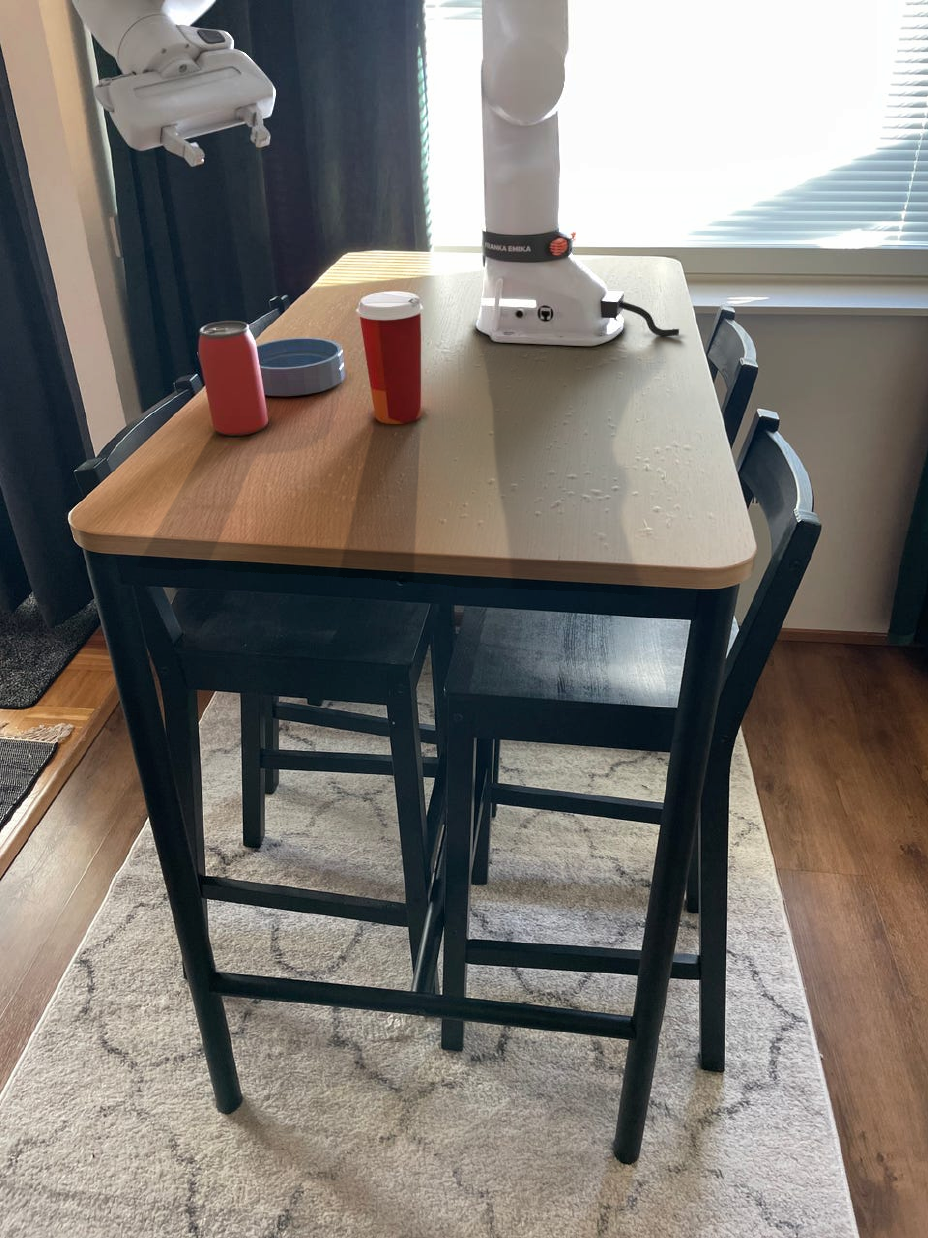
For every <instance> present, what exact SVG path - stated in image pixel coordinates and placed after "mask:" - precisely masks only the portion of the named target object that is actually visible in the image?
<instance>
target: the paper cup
mask: <svg viewBox="0 0 928 1238" xmlns="http://www.w3.org/2000/svg"><path fill="white" fill-rule="evenodd" d="M420 301H421V300H420V298H419V296H418V295H417V294H415V293H413V292H408V291H399V290H398V291H396V290H395V291H392V290H391V291H379V292H375V293H371V294H368V295H365V296H363V297H361V299H359V302H358V308H356V310H355V313H356V315H357V316H358V317H359V320H360V327H361V334H362V341H363V347H364V353H365V361H366V366H367V373H368V381H369V387H370V392H371V400H372V405H373V410H374V416H375V419H376V420H377V421H378V422H380V423H382V424H387V425H402V424H409V423H412V422H415V421H417V420H418V419H419V418H420V417H421V413H422V312H423V311H424V307H423V304H421V302H420Z"/></svg>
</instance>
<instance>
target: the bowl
mask: <svg viewBox="0 0 928 1238" xmlns="http://www.w3.org/2000/svg"><path fill="white" fill-rule="evenodd" d="M256 347H257V353H258V359H259V366H260V372H261V378H262V385H263V391H264V396H270V397H294V396H304V395H310V394H316V393H320V392H323V391H326V390H329V389H332V388H334V387H336V386H337V385H339V384H341V383H342V382H343V381H344V380H345V378H346V373H345V371H346V370H345V363H344V362H345V361H344V352H343V348H342V345H341V344H339V343H338V342H336V341H333V340H330V339H326V338H319V337H290V338H289V337H288V338H281V339H276V340H269V341H266V342H263V343H259V344H256Z"/></svg>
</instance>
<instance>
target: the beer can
mask: <svg viewBox="0 0 928 1238" xmlns="http://www.w3.org/2000/svg"><path fill="white" fill-rule="evenodd" d="M198 333H199V339H198V355H199V356H198V357H199V362H200V366H201V372H202V377H203V381H204V382H203V383H204V386H205V391H206V397H207V402H208V403H207V404H208V407H209V413H210V417H211V423H212V427H213V429H214V430H215V431H216V432H217V433H218V434H222V435H224V436H229V437H242V436H247V435H248V436H249V435H252V434H255V433H258V432H260V431H261V430H262V429H264V428H265V427H266V425H267V424H268V423H269V417H268V410H267V403H266V399H265V398H266V397H265V395H264V391H263V385H262V378H261V372H260V366H259V359H258V353H257V347H256V345H257V343H256V339H255V337H254V336H253V334H252V332H251V330H250V326H249V324H248V323H246V322H244V321H240V320H239V321H238V320H224V321H218V322H211V323H208V324H205V325H204V326H202V327H201V328H200V329H199V332H198Z"/></svg>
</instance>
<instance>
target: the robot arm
mask: <svg viewBox="0 0 928 1238" xmlns="http://www.w3.org/2000/svg"><path fill="white" fill-rule="evenodd" d="M216 1H217V0H71V2H72V4H73V6H74V8H75V10H76V12H77V14H78V15H79V17H80V19H81V20H82V22H83V23H84V25H85V26H86V28H87V29H88V30H89V32H90V33H91V35H92V37H94V39H95V40H96V42H97V43H99V45H100V47H102V49H103V50H104V51H105V52H106V53H108V54H109V55H110V56H111V57H113V58H114V59H115V62H116V64H117V66H118V68H119V70H120V72H121V73H122V74H119V75H117V76H114V77H105V78H101V79H100V80H98V83H97V84H96V85H95V86H94V88H93V95H94V98H95V99H96V100H97V102H98V103H99V104H100V106H101V107H102V108H103V109H104V110H105V111H107V112H109V116H110V118H111V120H112V121H113V123H114V125H115V127H116V129H117V131H118V132H119V134H120V136H121V137H122V139H123V140H124V142H125V143H126V144H127V145H128V146H129V147H130V148H132V149H134V150H136V151H140V152H143V151H147V150H151V149H154V148H158V147H161V146H163V147H164V148H165V149H166V150H167V151H169V152H171V153H172V154H174V155H177V156H178V157H180V158H184V160H185V161H186V162H187V163H188V165H189V166H190V167H197V166H199V165H202V164H204V159H205V153H204V151H203V149H202V148H200V146H199V144H198V143H197V142H196V141H195V142H191V143H190V142H188V141H187V140H189V139H191V138H197V137H199V136H203V135H207V134H210V133H215V132H219V131H222V130H225V129H229V128H233V127H237V126H241V125H244V124H245V125H247V126H248V127H249V128H251V134H250V140H251V142H252V143H253V144H255V147H256V148H263V147H266V146H269V145H270V141H271V133H270V132H269V130H268V129H267V128H266V127H265V126H264V120H263V119H267V118H271V116H272V113H273V110H274V105H275V100H276V88H275V86H274V84H273V82H272V81H271V80H270V79H269V77H268V76H267V75H266V74H265V73H264V71H262V69H261V68H260V67H259V66H258V65H257V64H256V62H255V61H254V60H253V59H251V57H249V55H247V54H246V53H245V52H243V51H241V50H239V49H236V48H234V39H233V37H232V36H231V35H230V34H229V33H228V32H227V31H225V30H221V29H210V28H200V27H195V26H192V25H194V24H195V23H196V22H197V21H199V19H200V18H201V17H203V16H204V15H205V13H207V12H208V11H209V10H210V9H211V8H212V7H213V5H214V4H215V3H216ZM481 25H482V29H481V30H482V61H481V65H480V91H481V93H480V94H481V121H482V124H481V125H482V127H481V128H482V153H483V155H482V156H483V188H484V189H483V190H484V192H483V193H484V227H483V229H482V230H481V232H482V235H481V236H482V237H481V256H482V266H483V268H484V272H483V273H484V274H483V287H482V296H481V302H480V308H479V313H478V317H477V320H476V324H475V326H476V328H477V329H478V331H480V332H481V333H483V334H485V335H488V336H489V337H490V339H491V341H493V342H496V343H505V344H506V343H507V344H511V343H512V344H532V345H533V344H534V345H549V346H550V345H551V346H552V345H553V346H572V347H573V346H577V347H594V346H598V345H601V344H604V343H607V342H609V341H612V340H613V339H615V338H616V337H617V336H618V335H619V334H620V333H621V332H622V331H623V330H624V318H623V317H622V315H620V314H621V313H622V311H623V310H625V311H628V312H632V313H634V314H637V315H639V316H640V317H642V318H643V319H644V320H645V322H646V325H647V327H648V329H649V331H650V332H651V333H653V334H654V335H656V336H659V337H673V336H677V337H678V336H679V335H680V328H666V329H665V328H664V329H663V328H659V327H658V326H657V325H656V323H655V322H654V319H653V317H652V315H651V314H650V313H649V312H648V311H647V310H645V309H644V308H642V307H640V306H638V305H635V304H633V303H630V302H626V301H624V299H625V298H624V297H625V292H624V291H608V288H607V286H606V284H605V282H604V281H603V280H602V279H600V278H599V277H598V276H597V275H596V274H594V273H593V272H592V271H591V270H590V269H589V268H588V267H587V266H585V265H584V264H583V263H582V262H581V261H580V260H579V259H577V257H575V256H574V255H573V245H574V244H573V242H575V241H576V240H577V238H575V237H576V234H577V232H575V231H574V232H571V233H569V232H568V231H567V230H566V229H565V228H564V227H563V226H562V225H561V220H562V219H561V216H562V173H563V165H562V148H561V124H560V123H561V119H560V118H561V117H560V112H561V111H560V106H561V104H562V102H563V100H564V99H565V96H566V93H567V90H568V85H569V70H570V69H569V65H570V64H569V61H570V60H569V58H570V57H569V53H570V52H569V44H570V42H569V38H570V37H569V0H481Z"/></svg>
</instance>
